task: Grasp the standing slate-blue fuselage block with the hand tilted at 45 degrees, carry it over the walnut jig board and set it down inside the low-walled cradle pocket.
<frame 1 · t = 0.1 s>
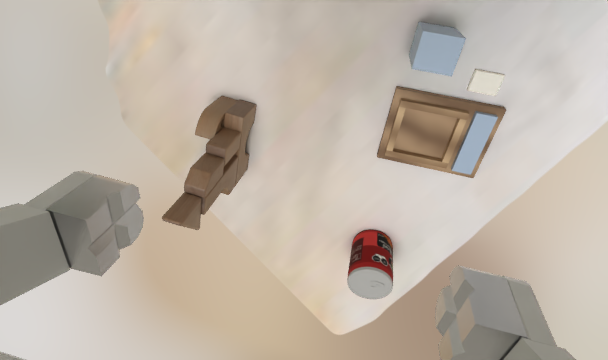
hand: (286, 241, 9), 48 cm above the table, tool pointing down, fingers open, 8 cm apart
wooden toy: (234, 137, 64), on the table
fuselage block: (431, 41, 49), on the table
canned food: (372, 242, 70), on the table
jig: (435, 132, 55), on the table
cream rectangular block: (484, 81, 50), on the table
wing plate: (472, 142, 54), point 1 cm above the table, touching jig
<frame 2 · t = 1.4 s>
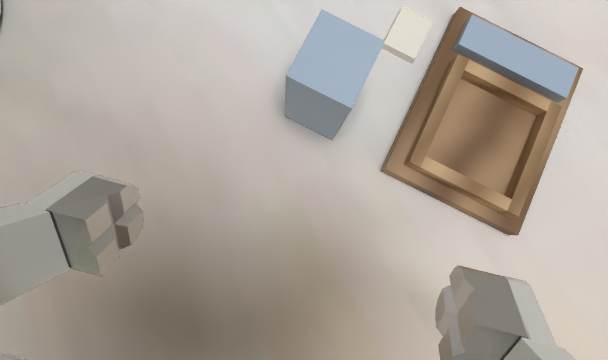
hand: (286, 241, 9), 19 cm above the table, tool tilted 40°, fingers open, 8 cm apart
fuselage block: (321, 102, 29), on the table
jig: (479, 120, 30), on the table
cream rectangular block: (404, 39, 31), on the table
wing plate: (511, 61, 30), point 1 cm above the table, touching jig
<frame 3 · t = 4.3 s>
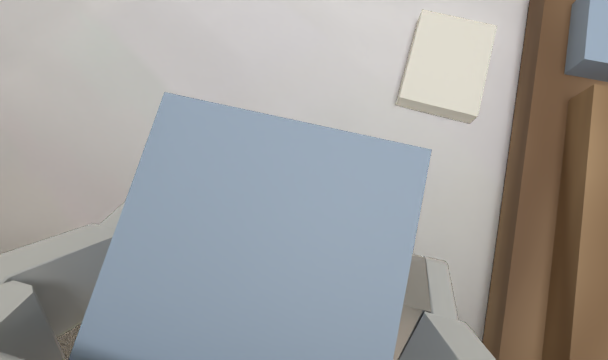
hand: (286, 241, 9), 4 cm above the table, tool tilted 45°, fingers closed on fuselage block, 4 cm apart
fuselage block: (294, 263, 13), on the table, touching gripper
cream rectangular block: (438, 76, 15), on the table
when the fingers open (7 cm above the table, at t = 8.9 s): fuselage block drops 1 cm, resting on jig.
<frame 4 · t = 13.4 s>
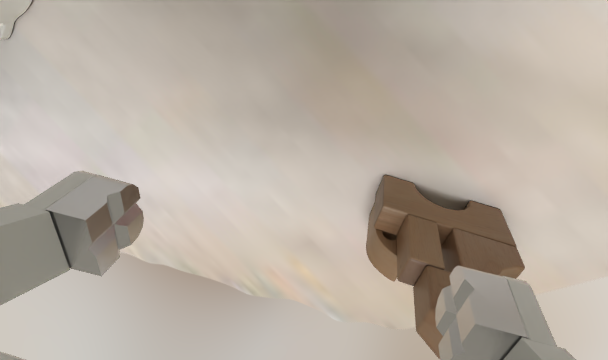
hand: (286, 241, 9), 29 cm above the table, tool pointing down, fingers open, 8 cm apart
wooden toy: (436, 213, 42), on the table
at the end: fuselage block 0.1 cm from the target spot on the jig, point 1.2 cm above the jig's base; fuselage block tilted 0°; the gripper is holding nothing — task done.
